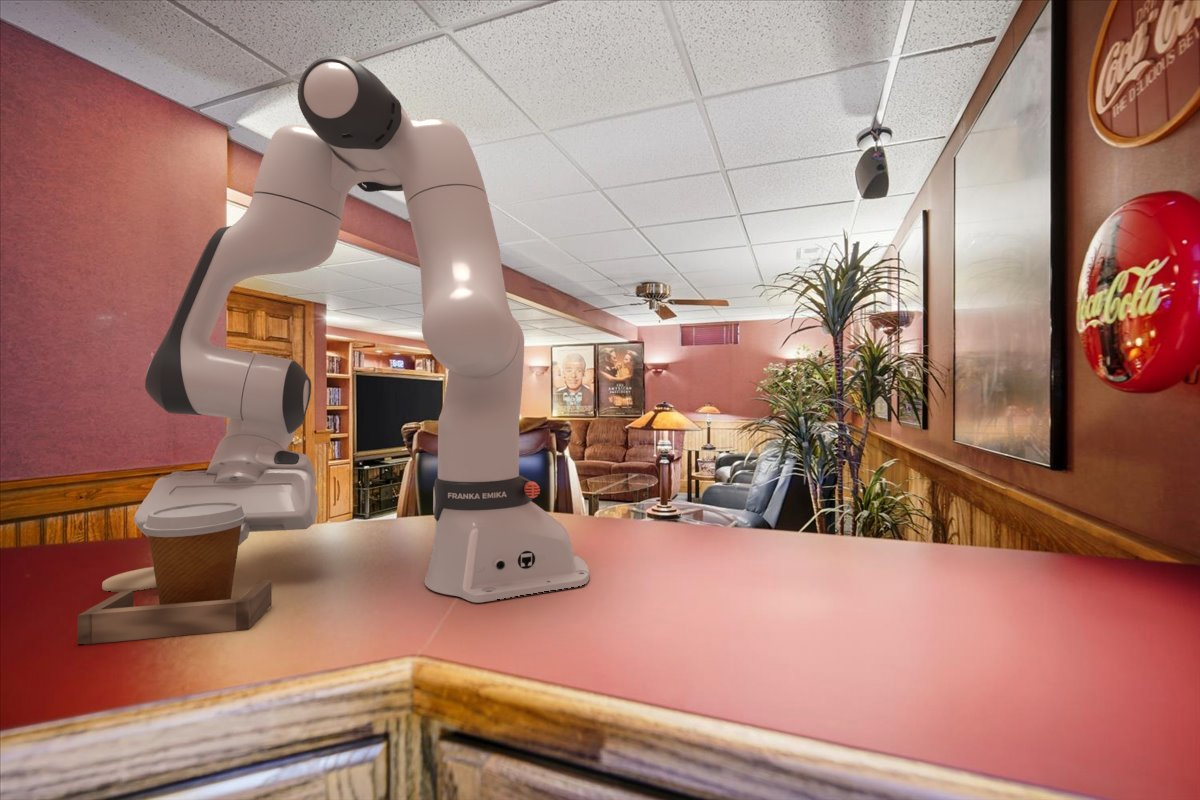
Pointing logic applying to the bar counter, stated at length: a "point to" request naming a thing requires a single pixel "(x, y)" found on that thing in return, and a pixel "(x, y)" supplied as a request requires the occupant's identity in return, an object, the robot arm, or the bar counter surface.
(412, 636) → the bar counter surface
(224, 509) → the disposable coffee cup
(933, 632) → the bar counter surface
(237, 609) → the walnut bay
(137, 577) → the cork coaster
